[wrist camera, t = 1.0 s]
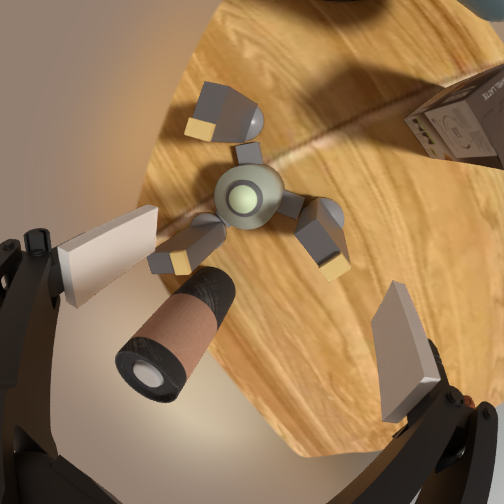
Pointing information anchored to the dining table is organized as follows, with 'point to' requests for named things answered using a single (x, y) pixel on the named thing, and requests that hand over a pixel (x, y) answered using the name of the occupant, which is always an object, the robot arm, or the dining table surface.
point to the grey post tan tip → (188, 246)
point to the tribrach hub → (253, 192)
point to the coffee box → (464, 121)
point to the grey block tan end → (324, 236)
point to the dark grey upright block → (224, 116)
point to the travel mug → (176, 336)
